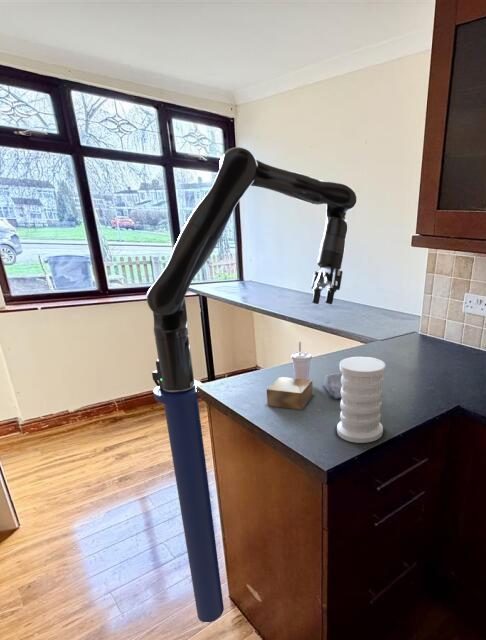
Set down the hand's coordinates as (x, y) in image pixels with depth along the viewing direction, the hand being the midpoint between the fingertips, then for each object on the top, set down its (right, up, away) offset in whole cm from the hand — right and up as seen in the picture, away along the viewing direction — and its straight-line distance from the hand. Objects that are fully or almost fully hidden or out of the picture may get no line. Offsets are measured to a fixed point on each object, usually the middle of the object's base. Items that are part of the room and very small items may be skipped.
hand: (321, 303), depth 128 cm
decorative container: (+13, -38, -26) cm, 47 cm away
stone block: (+7, -28, -2) cm, 29 cm away
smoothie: (-6, -26, +2) cm, 26 cm away
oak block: (-8, -30, -11) cm, 33 cm away
